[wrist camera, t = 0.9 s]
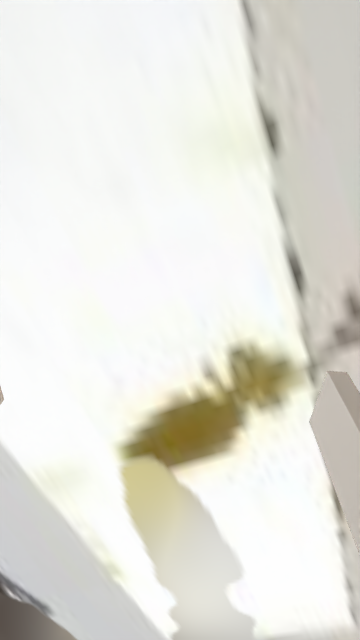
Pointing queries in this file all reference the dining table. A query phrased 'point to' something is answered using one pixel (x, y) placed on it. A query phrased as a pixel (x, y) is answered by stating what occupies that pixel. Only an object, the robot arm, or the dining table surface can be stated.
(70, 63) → the dining table surface
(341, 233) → the dining table surface
